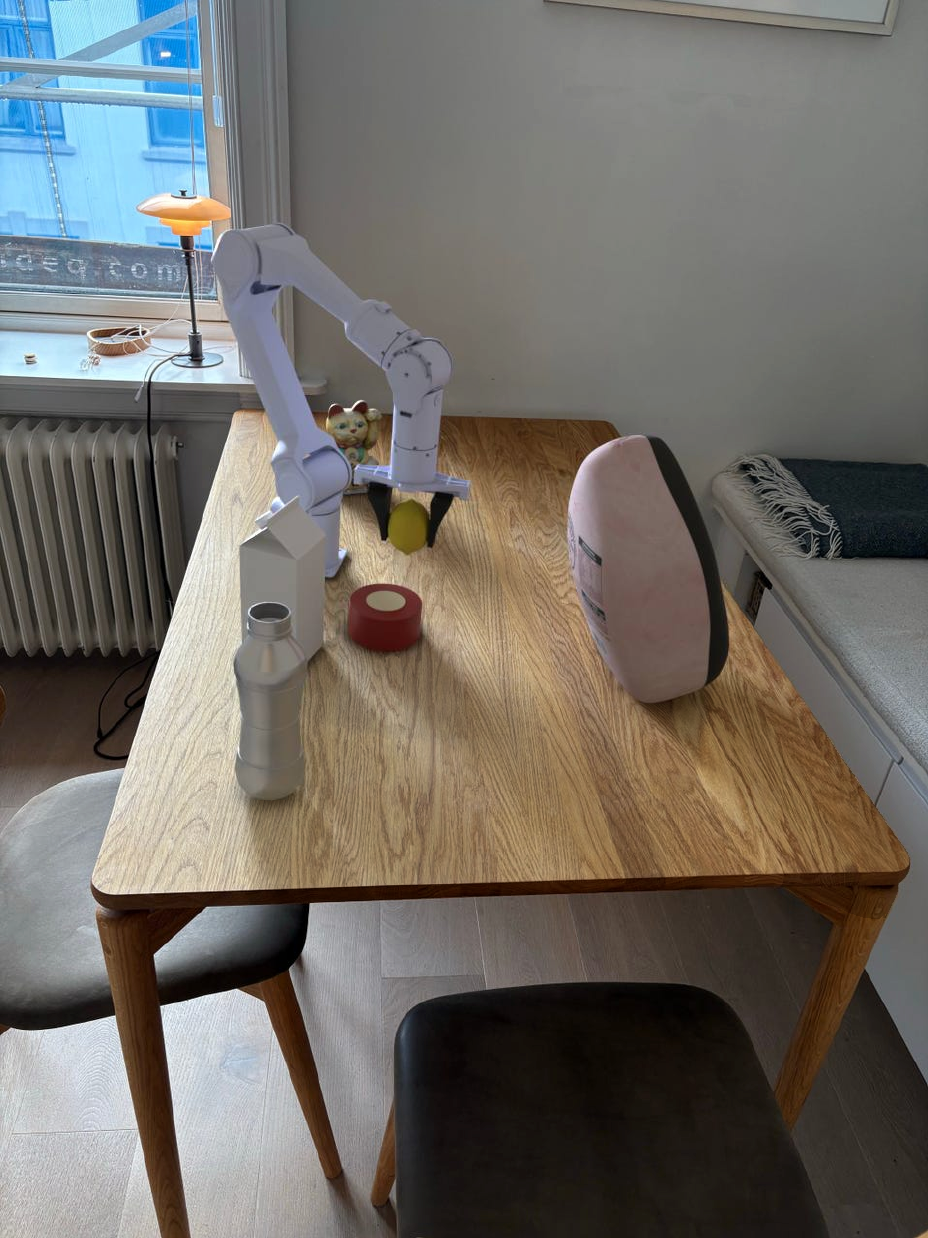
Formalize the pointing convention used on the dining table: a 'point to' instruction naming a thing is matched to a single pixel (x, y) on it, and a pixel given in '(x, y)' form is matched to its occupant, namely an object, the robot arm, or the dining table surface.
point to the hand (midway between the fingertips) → (407, 541)
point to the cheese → (384, 617)
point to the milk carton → (286, 571)
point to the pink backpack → (646, 570)
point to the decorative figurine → (354, 436)
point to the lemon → (408, 526)
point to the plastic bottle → (270, 704)
